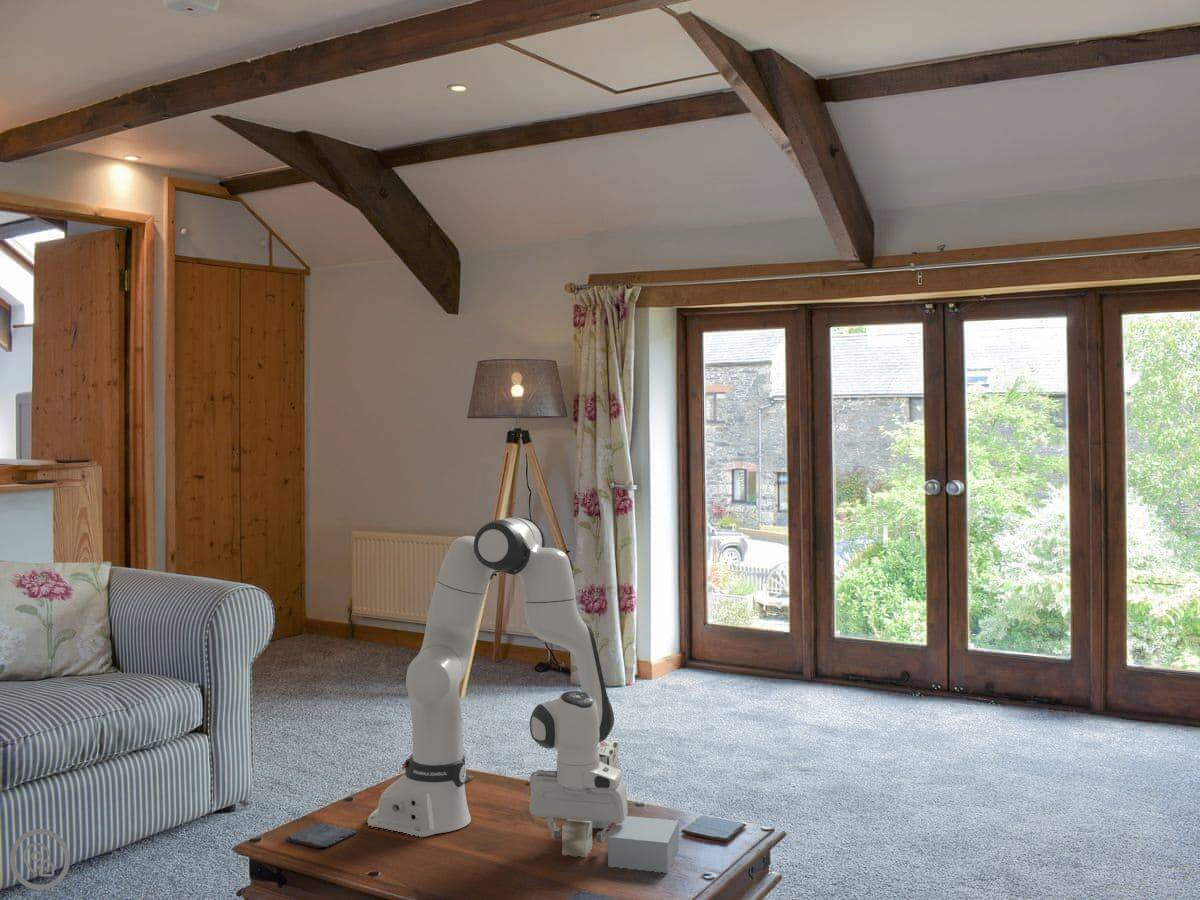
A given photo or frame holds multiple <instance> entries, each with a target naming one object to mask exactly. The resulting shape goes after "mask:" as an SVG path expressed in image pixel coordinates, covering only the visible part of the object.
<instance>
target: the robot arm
mask: <svg viewBox="0 0 1200 900" xmlns="http://www.w3.org/2000/svg"><path fill="white" fill-rule="evenodd" d="M494 571H496V572H501V573H505V574H507V575H511V576H515V575H518V576H519V577H520V579H521V581H522V582H521V583H522V587H523V604H524V605H523V606H524V617H525V618H524V619H525V623H526V625H527V628H528V629H529V631H530V632H531V634H533V635H534V636H535V637H537V638H538V639H540V640H541V641H543V642H545V643H546V642H547V643H549V644H552V645H556V646H559V647H562V648H565V650H568V651H569V652H570V653H571V654H572V656H573V658H574V660H575V661H574V662H575V664H576V665H575V666H576V669H577V670H576V671H577V674H578V679H579V684H580V689H581V691H580V690H571V691H570V690H569V691H565V692H564V693H562V694H560V695H559V696H558V698H557V699H554V700H550V701H544V702H542V703H539V704H537V705H536V706H535V707H534V709H533V711H532V713H531V715H530V718H529V719H530V720H529V730H530V736H531V739H532V740H533V741H534V742H535V743H536V744H537V745H539V746H540V747H541V748H544V749H549V750H551V749H554V750H556V751H557V754H556V755H557V756H556V770H543V769H537V770H536V771H534V772H532V773H531V774H530V776H529V788H530V789H531V792H530V797H529V798H530V799H529V812H530V813H531V815H532V816H533V817H540V818H541V817H542V818H545V819H546V821H545V822H546V824H547V825H548V827H549V829H550V831H551V839H557V840H559V839H560V838H562V827H558V826H557V824H556V822H555V820H556V819H563V820H567V819H573V820H584V821H595V822H601V823H602V827H604V829H602V831H598V832H597V833H596V834H595V835H596V836H595V838H596V840H595V842H596V843H600V844H604V843H605V841H606V832H607V831H608V830H607V829H608V827H609V826H610V823H613V824H617V823H618V824H621V823H622V822H623V821H624V820H625V819H626V817H627V816H628V813H629V812H628V811H629V810H628V809H629V808H628V797H627V791H626V788H625V785H624V784H623V783H622V778H623V772H622V770H621V769H620V768H618V769H617V768H614V767H612V766H609V765H607V764H604V763H602V762H600V757H599V753H598V742H602V741H604V740H607V737H608V736H609V734H610V733H611V732H612V731H613V727H614V724H615V713H614V711H613V707H612V706H613V705H612V704H611V702H610V699H609V696H608V693H607V689H606V684H605V679H604V675H603V671H602V666H601V661H600V655H599V651H598V647H597V643H596V639H595V636H594V633H593V629H592V627H591V625H590V624H589V623H588V622H587V621H585V620H583V618H582V617H581V615H580V612H579V609H578V606H577V599H576V587H575V580H574V575H573V570H572V566H571V562H570V558H569V556H568V554H566V553H565V552H564V551H563V550H560V549H558V548H555V547H546V536H545V532H544V531H543V529H542V527H541V526H540V525H539V524H538V523H536V522H535V521H534V520H532V519H529V518H527V517H515V516H514V517H511V516H510V517H506V518H505V517H504V518H501V519H495V520H491V521H489V522H487V523H485V524H484V525H482V527H480V529H479V530H477V533H476V535H475V536H473V535H463V536H459V537H457V538H456V539H454V540H453V541H452V542H451V544H450V546H449V549H448V550H447V553H446V555H445V556H444V559H443V561H442V564H441V566H440V569H439V572H438V575H437V579H436V581H435V582H436V583H435V585H434V589H433V593H432V597H431V600H430V603H429V607H428V611H427V615H426V617H427V618H426V624H425V625H426V626H425V629H424V630H425V631H424V637H423V640H422V644H421V648H420V651H419V652H418V653H417V655H416V656H415V657H414V658H413V660H411V662H410V664H409V665H408V667H407V670H406V677H405V678H406V679H405V686H406V690H407V693H408V694H407V695H408V697H407V698H408V702H409V703H408V704H409V709H410V716H411V723H412V724H411V726H412V728H411V729H412V732H411V733H412V754H410V756H409V757H408V758H407V759H406V760H405V761H404V763H402V764H401V770H405V773H404V774H403V775H402V776H400V777H399V778H398V779H396V780H395V781H394V782H393V783H392V784H390V785H389V786H388V787H386V789H384V790H383V791H382V793H381V795H380V798H379V801H378V806H377V808H376V809H375V810H374V811H372V812H371V814H369V816H368V817H367V821H366V822H367V823H368V825H371V826H376V827H381V828H384V829H389V830H394V831H398V832H403V833H407V834H406V835H408V834H410V835H409V836H413V835H415V836H414V837H418V836H419V838H426V837H429V836H433V835H436V834H442V833H443V834H444V833H449V832H453V831H456V830H460V829H462V828H465V827H466V826H468V825H469V824H470V823H471V821H472V817H471V815H470V811H469V807H468V801H467V795H466V788H465V782H466V778H467V777H466V776H467V768H466V756H465V755H464V720H463V716H462V709H461V703H460V702H461V701H460V684H461V682H462V680H463V679H464V677H465V675H466V674H467V673H466V672H467V670H468V666H469V661H470V658H471V654H472V648H473V644H474V641H475V640H474V639H475V634H476V631H477V630H476V629H477V626H478V622H479V620H480V619H479V618H480V614H481V611H482V609H483V604H484V601H485V598H486V594H487V591H488V586H489V582H490V579H491V577H492V575H493V573H494ZM367 823H366V824H367ZM368 825H367V826H368ZM398 832H397V833H398ZM403 833H402V834H403Z"/></svg>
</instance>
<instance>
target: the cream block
mask: <svg viewBox="0 0 1200 900" xmlns="http://www.w3.org/2000/svg"><path fill="white" fill-rule="evenodd" d="M592 849H593V829H592V821H584V820H573V819H565V821H564V823H563V824H562V825H561V856H567V855H570V856H569V857H577V856H581V857H580V858H587V856H588V855H589V854H588V853H591V851H592ZM590 850H591V851H590ZM572 855H573V856H572Z"/></svg>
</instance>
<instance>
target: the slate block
mask: <svg viewBox="0 0 1200 900" xmlns="http://www.w3.org/2000/svg"><path fill="white" fill-rule="evenodd" d="M679 827H680V821H679V820H673V819H672V820H671V819H665V818H655V817H654V818H652V817H643V816H642V817H641V816H631V815H627V817H626V819H625V820H624V821H623V822H622V823H621V824H618V823H615V826H614V827H613V829H612V830H611V831H610V833H609V835H608V836H607V867H608V868H614V867H620V868H619V869H623V868H628V869H627V870H633V869H640V870H639V871H642V870H647V871H646V872H651V871H654V873H661V872H663V874H668V873H669V871H670V869H671V867H672V865H673V863H674V861H675V859H674V858H676V857H675V856H677V854H678V852H679V850H680V846H679V845H680V843H679V842H680V841H679V838H680V834H679V833H680V830H679V829H680V828H679ZM673 860H674V861H673ZM672 862H673V863H672Z"/></svg>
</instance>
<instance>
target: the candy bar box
mask: <svg viewBox="0 0 1200 900" xmlns="http://www.w3.org/2000/svg"><path fill="white" fill-rule="evenodd" d="M598 753H599V757H600V762H602V763H604V764H607V765H609V766H612V767H614V768H617V769H619V740H611V739H605V740H604V741H602V742H598ZM613 824H614V823H610V826H609V827H608V829H607V831H608V830H609V831H610V830H611V828H612V827H613ZM603 829H604V827H602V823H601V822H595V821H592V830H603Z"/></svg>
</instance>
